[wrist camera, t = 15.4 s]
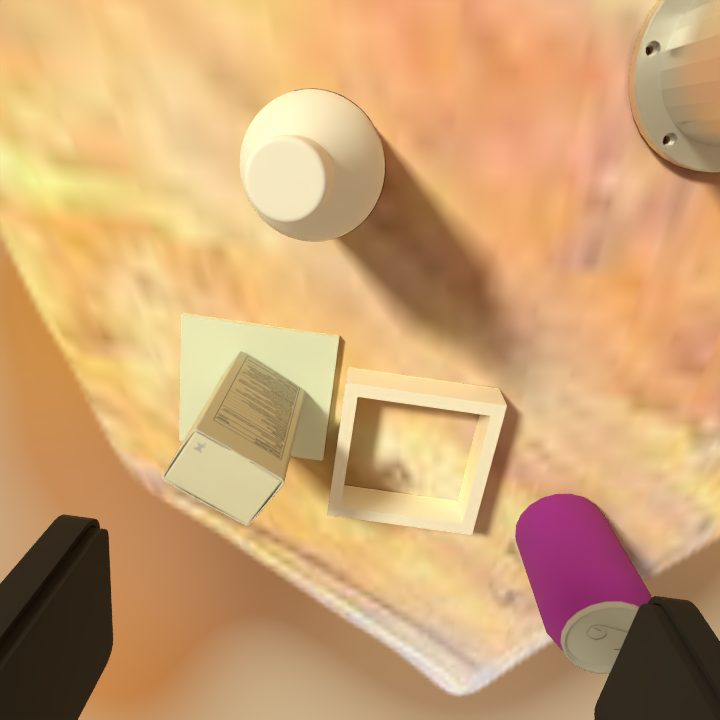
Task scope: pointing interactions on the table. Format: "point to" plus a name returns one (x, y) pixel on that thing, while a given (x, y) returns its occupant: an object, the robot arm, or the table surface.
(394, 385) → the collar
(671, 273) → the table surface
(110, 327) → the table surface
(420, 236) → the table surface
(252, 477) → the skincare box
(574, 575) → the beverage can
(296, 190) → the bath foam
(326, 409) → the mat
